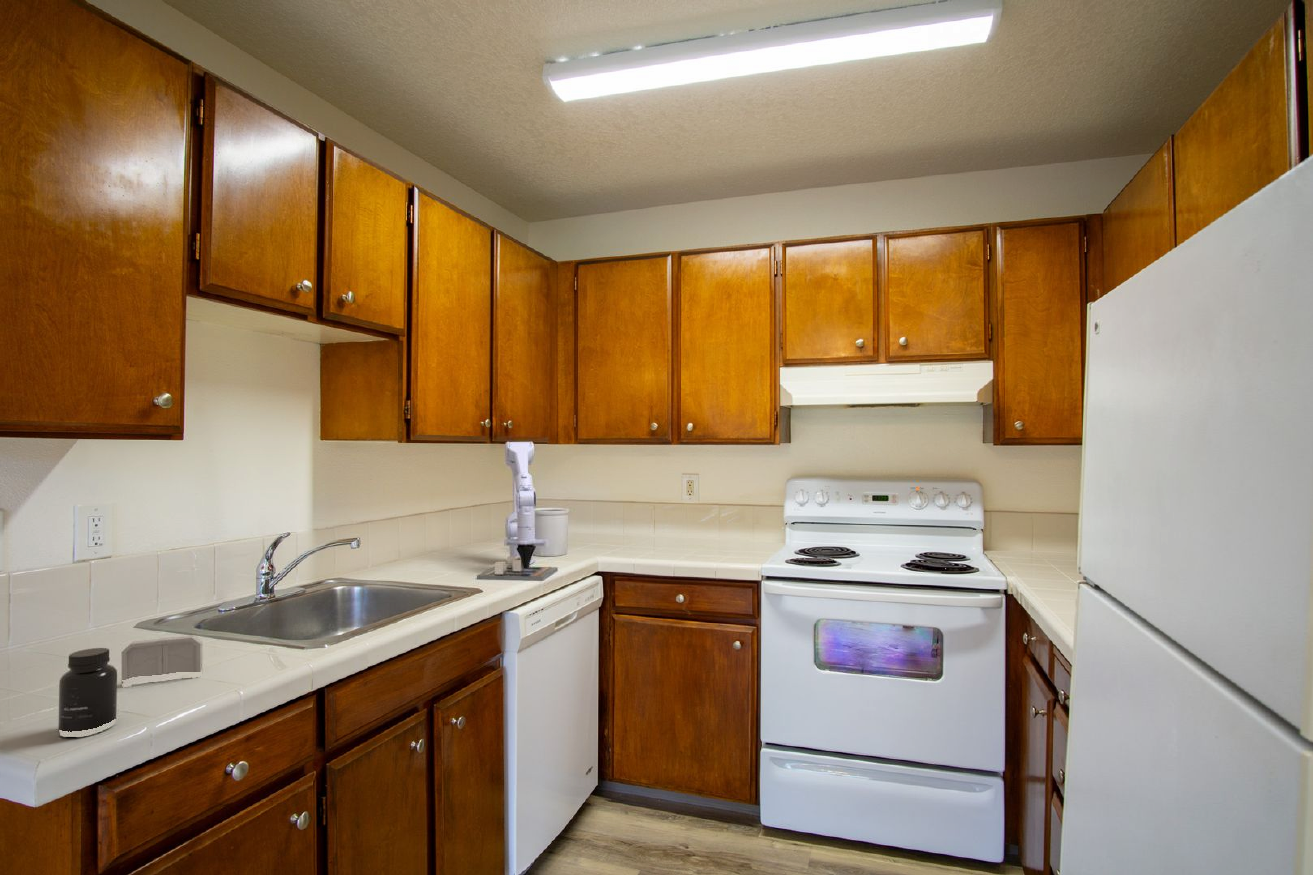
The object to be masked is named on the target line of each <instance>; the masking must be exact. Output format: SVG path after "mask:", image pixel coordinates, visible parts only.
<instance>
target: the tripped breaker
mask: <svg viewBox="0 0 1313 875" xmlns="http://www.w3.org/2000/svg"><path fill="white" fill-rule="evenodd" d="M512 561H513V571H522V570H524V568H523V563H522V560H521V558H517V559H514V560H512Z"/></svg>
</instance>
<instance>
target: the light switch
mask: <svg viewBox="0 0 1313 875" xmlns="http://www.w3.org/2000/svg"><path fill="white" fill-rule="evenodd" d="M201 670H202V671H203V640H202V639H200V638H198V637H197V635H195V634H193V635H184V636H175V637H163V638H155V639H146V640H145V639H143V640H135V641H132V642H131V643H130V644H128V645H127V646H126V648H124V649H123V650H122V651H121V681H122V680H126V679H129V678H132V677H138V676H152V675H162V674H169V673H176V672H201Z"/></svg>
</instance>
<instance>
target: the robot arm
mask: <svg viewBox="0 0 1313 875" xmlns="http://www.w3.org/2000/svg"><path fill="white" fill-rule="evenodd" d="M504 452H505V453H504V455H505V456H504V457H505V464H506V466H509V467H510V468H511V472H512V498H513V499H512V500H513V501H512V502H513V503H512V505H513V506H512V507H513V508H512V509H513V510H512V511H513V512H512V513H510V514H509V515H507V517H506V518H505V539H503V541H504V542H503V546H504V547H508V546H509V556H518V558H521V560H522V563H523V568H529V567H530V565H532V564H533V563H535V562H536V560H535V559H534V555H533V552H534V550H535V548H536V546H544V547H546V546H548V540H541V539H535V509H536V507H537V501H538V500H537V499H538V498H537V492H536V488H535V487H534V482H533V476H532V475H531V474H530V473H529V466H530V465H532V462H533V460H534V456H535V444H534V443H533V441H506V442H505V444H504ZM506 566H507V563H506Z"/></svg>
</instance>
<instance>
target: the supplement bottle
mask: <svg viewBox="0 0 1313 875" xmlns="http://www.w3.org/2000/svg"><path fill="white" fill-rule="evenodd" d="M110 658H111V657H110V649H109V648H107V647H95V648H93V647H92V648H87V649H86V648H85V649H82V650H77V651H74V652H72V653H70V654H69V655H68V663H67V669H69V670H68V671H67V672H65V673H64V674H63V675H62V676H61V677H60V679H59V684H58V685H59V686H58V687H59V688H58V731H59V730H62V731H68V732H69V731H70V732H72V731H82V730H88V729H93V728H97V727H99V726H102V725H103V724H106V723H109V722H111V721H112V720H114V719H116V720H117V711H118V710H117V706H118V704H117V703H118V702H117V701H118V693H117V692H118V670H117V669H116V668H115V666H114V665H111V664H108V663H109V662H110V661H111V659H110Z"/></svg>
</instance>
